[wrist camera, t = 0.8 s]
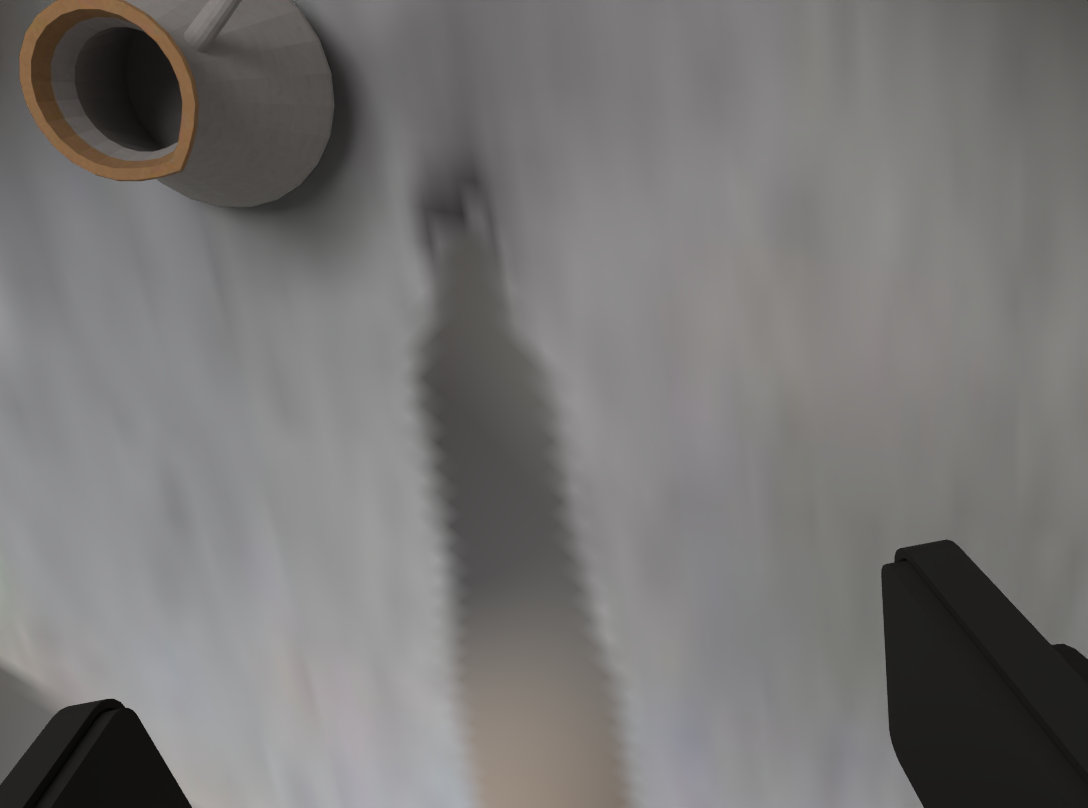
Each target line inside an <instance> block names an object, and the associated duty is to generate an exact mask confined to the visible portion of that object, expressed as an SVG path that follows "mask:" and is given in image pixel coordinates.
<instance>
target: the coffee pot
mask: <svg viewBox="0 0 1088 808" xmlns="http://www.w3.org/2000/svg"><path fill="white" fill-rule="evenodd" d="M19 61H20V82H21V86H22V90H23V93H24V97H25V101H26V104H27V106H28V108H29V110H30V112H31V114H32V116H33V118H34V120H35V122H36V124H37V126H38V127H39V129H40V130H41V131H42V132H43V134H44V135H45V136H46V137H47V139H48V140H49V141H50V142H51V144H52V145H53V146H54V147H55V148H56V149H57V150H59V151H60V152H61V153H62V154H63V155H65V156H66V157H67V158H68V159H69V160H70V161H72V162H73V163H75V164H76V165H78V166H80V167H82V168H84V169H86V170H88V171H90V172H92V173H93V174H95V175H98V176H102V177H106V178H110V179H113V180H117V181H145V180H151V179H157V180H158V181H160V182H161V183H163V184H164V185H166V186H168V187H170V188H172V189H173V190H175V191H177V192H179V193H181V194H183V195H185V196H187V197H188V198H190V199H193V200H197V201H201V202H204V203H208V204H212V205H216V206H219V207H253V206H256V205H260V204H264V203H267V202H271V201H274V200H278V199H279V198H281V197H282V196H284V195H285V194H287V193H288V192H290V191H292V190H293V189H295V188H296V187H298V186H299V185H301V183H302V182H303V181H304V180H305V179H306V178H307V176H308V175H309V174H310V173H311V172H312V170H313V169H314V168H315V167H316V166H317V165H318V163H319V161H320V159H321V156H322V154H323V152H324V149H325V147H326V145H327V143H328V140H329V138H330V135H331V128H332V121H333V115H334V108H335V103H334V93H333V84H332V74H331V71H330V68H329V65H328V62H327V59H326V56H325V53H324V50H323V48H322V45H321V42H320V40H319V38H318V37H317V35H316V33H315V32H314V30H313V29H312V27H311V25H310V24H309V22H308V21H307V19H306V17H305V16H304V14H303V13H302V11H301V10H300V9H299V8H298V7H297V6H296V5H295V4H294V3H293V2H292V1H291V0H56V1H55V2H53V3H52V4H51V5H49V6H48V7H47V8H46V9H44V10H43V11H42V12H40V13H39V14H38V15H37V16H36V17H35V19H34V21H33V22H32V24H31V25H30V27H29V28H28V30H27V31H26V33H25V36H24V40H23V44H22V47H21V51H20V55H19Z"/></svg>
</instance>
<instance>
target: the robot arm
mask: <svg viewBox="0 0 1088 808" xmlns="http://www.w3.org/2000/svg"><path fill="white" fill-rule="evenodd" d="M881 577H882V597H883V616H884V636H885V655H886V675H887V694H888V714H889V730H890V736H891V741H892V744H893V747H894V750H895V753H896V756H897V758H898V760H899V762H900V764H901V766H902V768H903V770H904V772H905V774H906V775H907V777H908V779H909V781H910V783H911V785H912V786H913V788H914V790H915V792H916V794H917V796H918V797H919V799H920V801H921V803H922V805H923V807H924V808H1088V659H1087V658H1085V657H1084V656H1083V655H1082V654H1081V653H1079V652H1078V651H1077V650H1076V649H1074V648H1072V647H1070V646H1067V645H1065V644H1056V645H1051V644H1050V643H1049V642H1048V641H1047V640H1046V639H1045V638H1044V637H1043V636H1042V635H1041V634H1040V633H1039V632H1038V631H1037V629H1036V628H1035V627H1034V626H1033V625H1032V624H1031V623H1030V622H1029V621H1028V620H1027V619H1026V618H1025V617H1024V616H1023V615H1022V613H1021V612H1020V611H1019V610H1018V609H1017V608H1016V607H1015V606H1014V605H1013V604H1012V603H1011V602H1010V601H1009V600H1008V599H1007V597H1006V596H1005V595H1004V594H1003V593H1002V592H1001V591H1000V590H999V589H998V588H997V587H996V586H995V585H994V584H993V582H992V581H991V580H990V579H989V578H988V577H987V576H986V575H985V574H984V573H983V572H982V571H981V570H980V569H979V568H978V566H977V565H976V564H975V563H974V562H973V561H972V560H971V559H970V558H969V557H968V556H967V555H966V554H965V553H964V552H963V550H962V549H961V548H960V547H959V546H958V545H956V544H955V543H954V542H953V541H950V540H942V541H937V542H931V543H926V544H921V545H916V546H910V547H905V548H900V549H898V550H897V551H896V554H895V561H894V563H890V564H885V565H883V567H882V573H881ZM0 808H192V807H191V805H190V803H189V802H188V800H187V798H186V797H185V795H184V793H183V792H182V790H181V788H180V787H179V785H178V783H177V782H176V780H175V778H174V776H173V775H172V773H171V771H170V770H169V768H168V766H167V765H166V763H165V761H164V760H163V758H162V756H161V755H160V753H159V751H158V750H157V748H156V746H155V745H154V743H153V741H152V739H151V738H150V736H149V734H148V733H147V731H146V729H145V728H144V726H143V724H142V723H141V721H140V719H139V718H138V716H137V714H136V713H135V712H134V711H133V710H131V709H129V708H125V707H124V706H123V704H122V703H121V702H119V701H117V700H115V699H105V700H99V701H94V702H89V703H84V704H78V705H73V706H68V707H66V708H64V709H61V710H60V711H59V712H58V713H57V714H56V715H55V716H53V718H52V719H51V720H50V721H49V723H48V724H47V725H46V727H45V728H44V729H43V730H42V732H41V733H40V734H39V736H38V737H37V738H36V740H35V741H34V742H33V743H32V745H31V746H30V748H29V749H28V750H27V751H26V753H25V754H24V755H23V756H22V758H21V759H20V760H19V762H18V763H17V764H16V766H15V767H14V768H13V770H12V771H11V772H10V774H9V775H8V776H7V777H6V779H5V780H4V781H3V783H2V784H1V785H0Z"/></svg>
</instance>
